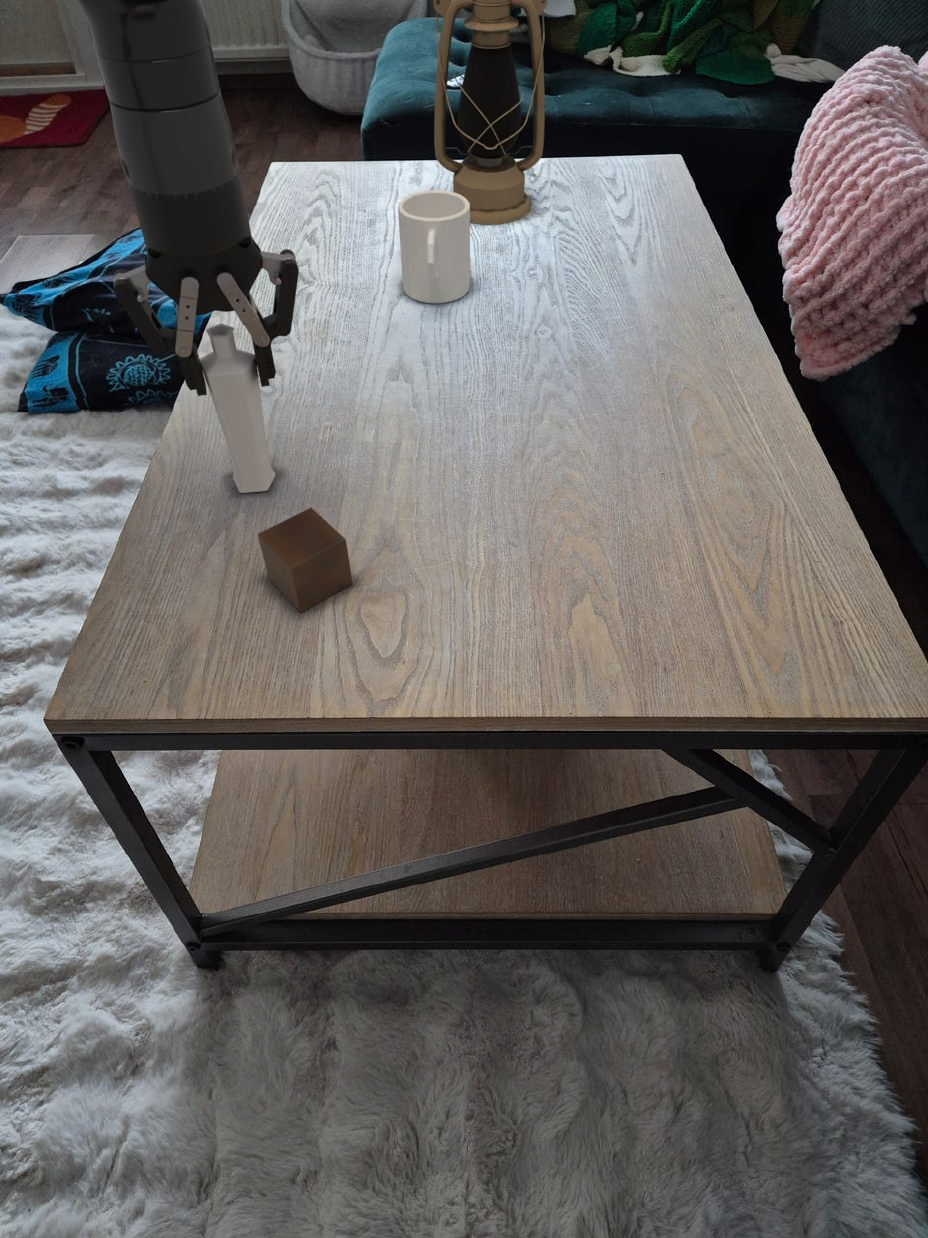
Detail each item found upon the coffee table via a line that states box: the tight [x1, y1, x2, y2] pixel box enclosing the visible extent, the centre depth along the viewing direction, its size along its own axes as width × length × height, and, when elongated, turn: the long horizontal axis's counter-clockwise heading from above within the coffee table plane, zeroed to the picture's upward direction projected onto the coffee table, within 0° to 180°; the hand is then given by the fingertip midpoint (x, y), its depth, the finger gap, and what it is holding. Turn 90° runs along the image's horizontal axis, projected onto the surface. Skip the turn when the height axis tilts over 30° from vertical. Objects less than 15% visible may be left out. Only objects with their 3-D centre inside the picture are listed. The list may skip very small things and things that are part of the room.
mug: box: [397, 189, 471, 304], centre depth 98 cm, size 8×12×10 cm
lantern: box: [433, 0, 548, 225], centre depth 108 cm, size 15×12×30 cm
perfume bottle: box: [199, 323, 276, 494], centre depth 73 cm, size 5×4×15 cm
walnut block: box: [257, 507, 353, 613], centre depth 68 cm, size 5×5×5 cm
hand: (233, 385), depth 71 cm, fingers closed on perfume bottle, 4 cm apart
